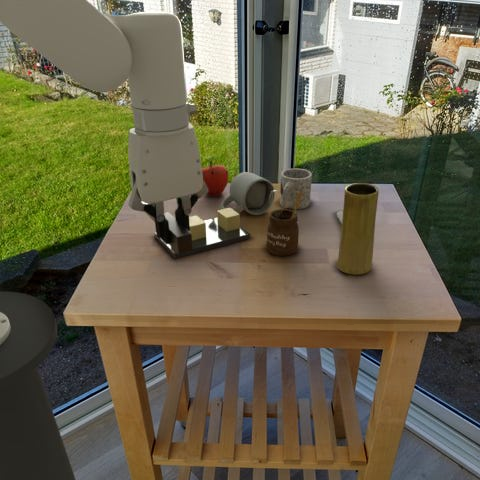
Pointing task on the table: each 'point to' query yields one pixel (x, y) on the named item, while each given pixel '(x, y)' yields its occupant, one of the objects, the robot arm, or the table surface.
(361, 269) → the vase
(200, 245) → the board
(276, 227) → the utensil holder
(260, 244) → the table surface
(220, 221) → the butter pat
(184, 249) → the table knife
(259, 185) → the ceramic mug
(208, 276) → the table surface
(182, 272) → the table surface
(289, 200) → the mug
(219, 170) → the apple
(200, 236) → the butter block
